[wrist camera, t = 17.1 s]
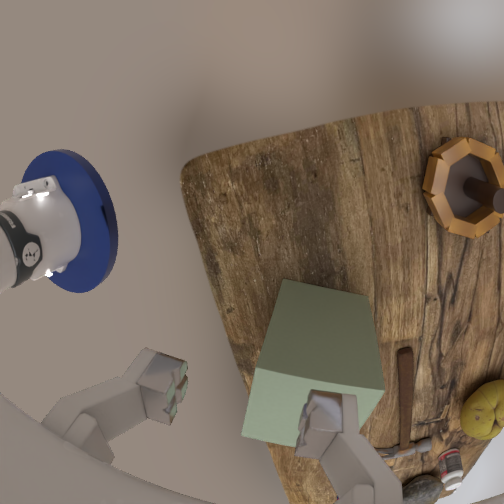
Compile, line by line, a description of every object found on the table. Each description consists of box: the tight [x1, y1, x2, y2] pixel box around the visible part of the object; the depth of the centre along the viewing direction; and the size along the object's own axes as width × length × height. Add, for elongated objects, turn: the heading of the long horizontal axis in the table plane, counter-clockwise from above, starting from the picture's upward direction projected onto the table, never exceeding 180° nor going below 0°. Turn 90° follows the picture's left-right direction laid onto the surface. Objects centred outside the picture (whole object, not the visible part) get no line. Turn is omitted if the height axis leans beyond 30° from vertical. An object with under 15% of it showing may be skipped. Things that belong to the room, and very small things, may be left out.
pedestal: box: [241, 279, 385, 447], centre depth 31 cm, size 11×11×16 cm
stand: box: [427, 137, 504, 233], centre depth 23 cm, size 9×9×8 cm
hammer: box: [374, 348, 432, 460], centre depth 40 cm, size 12×3×30 cm
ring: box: [422, 137, 504, 239], centre depth 25 cm, size 10×10×3 cm
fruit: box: [460, 379, 504, 440], centre depth 32 cm, size 11×12×10 cm
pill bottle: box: [438, 448, 463, 490], centre depth 40 cm, size 5×5×10 cm
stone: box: [402, 475, 444, 504], centre depth 46 cm, size 17×13×10 cm
